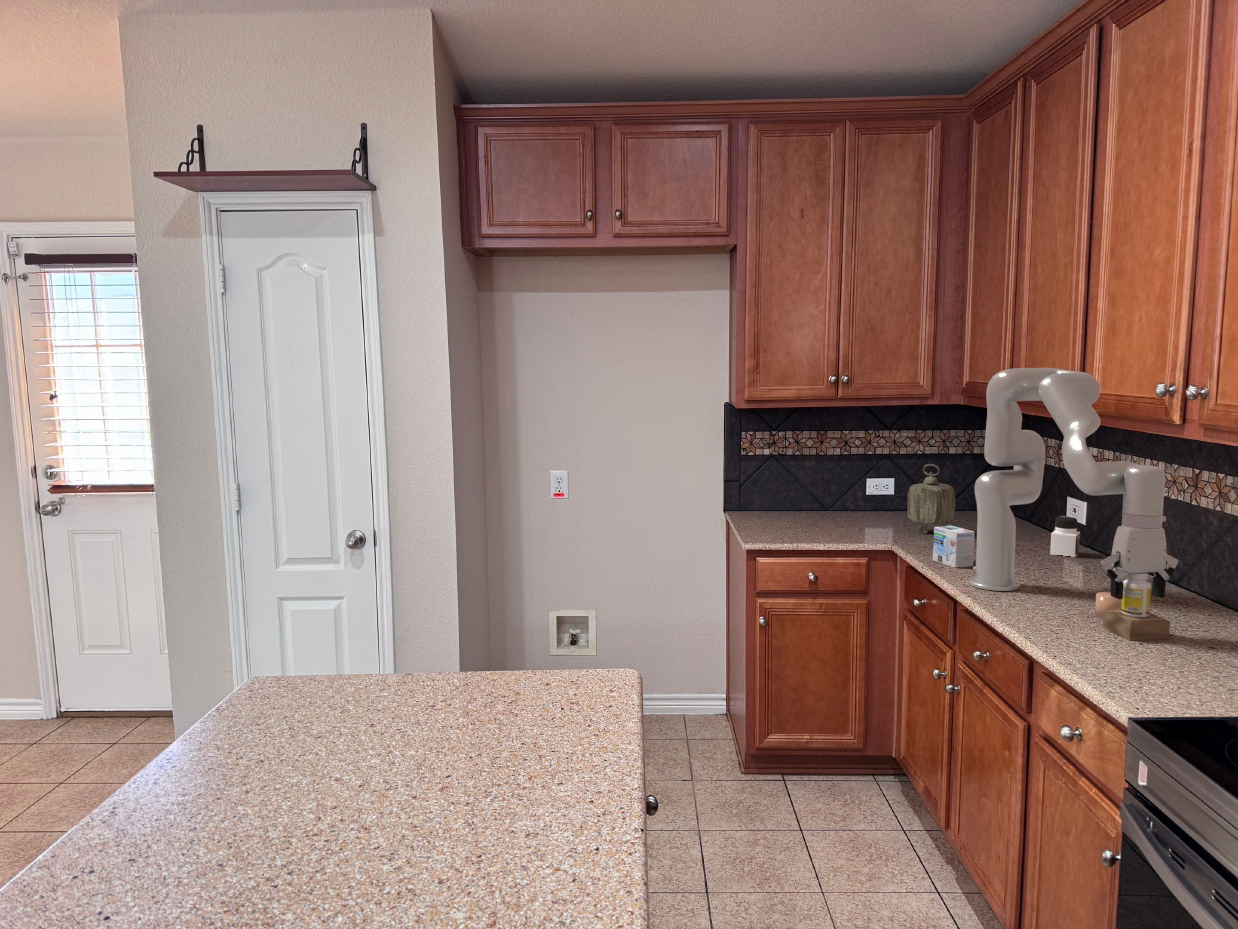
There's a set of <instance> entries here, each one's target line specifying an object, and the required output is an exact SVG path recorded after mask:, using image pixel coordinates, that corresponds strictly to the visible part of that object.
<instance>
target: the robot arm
mask: <svg viewBox="0 0 1238 929" xmlns="http://www.w3.org/2000/svg"><path fill="white" fill-rule="evenodd" d="M1100 395H1101V387H1100V383H1099V382H1098V380H1097V379H1096V378H1095V377H1094V375H1092V374H1091V373H1087V372H1083V371H1077V370H1070V369H1069V370H1068V369H1062V368H1056V367H1017V368H1015V367H1014V368H1007V369H1004V370H1001V371H999V372H996V373H995V374H994V375H992V377H991V379H990V380H989V381H988V384H987V387H986V392H985V396H986V399H985V400H986V408H987V409H986V411H987V414H986V422H985V423H986V425H985V426H986V427H985V434H984V436H985V437H984V449H983V450H984V451H983V452H984V453H983V454H984V455H983V456H984V459H985V461H986V462H987V463H988V464H990V465H991V466H995V467H1013V469H1005V470H990V471H987V472H984V473H983V474H981V475H980V476H978V478H977V479H976V480H975V483H974V496H975V502H976V510H977V511H976V512H977V514H976V515H977V521H976V524H977V526H976V552H975V553H976V554H975V555H976V556H975V566H974V565H973V566H972V570H974V571H975V575H974V576H972V577H970V578H969V579H968V580H969V581H968V584H969V585H970V586H972V587H974V588H978V589H981V590H985V591H986V590H987V591H995V592H996V591H997V592H1010V591H1017V590H1019V589H1020V587H1021V583H1020V582H1019V581H1018V580H1015V579H1014V576H1015V558H1016V557H1015V555H1016V535H1017V534H1016V533H1017V530H1016V529H1017V528H1016V527H1017V523H1016V518H1015V515H1014V514H1013V511H1012V509H1011V507H1010V506H1015V505H1017V506H1018V505H1027V504H1031V503H1034V502H1035V501H1037V499H1038V498H1039V497H1040V495H1041V492H1042V488H1043V481H1044V480H1043V479H1044V472H1045V462H1046V446H1045V441H1044V440H1043V438H1042V436H1041V435H1040V434H1039V433H1037V432H1036V431H1034V430H1031V429H1030V430H1029V429H1022V424H1023V423H1022V422H1023V415H1022V411H1021V408H1020V406H1019V405H1018V403H1017V402H1025V401H1026V402H1029V401H1030V402H1034V401H1039V402H1040V401H1042V402H1043V405H1044V406H1045V407H1046V409H1047V411H1048V413H1049V414H1050V416H1051V417H1052V419H1053V420H1054V422H1055V424H1056V425H1057V427H1058V429H1059V430H1060V432H1061V433H1062V435H1063V442H1062V444H1061V445H1062V446H1061V458H1062V463H1063V466H1064V468H1065V470H1066V471H1067V473H1068V475H1069V477H1070V478H1071V480H1072V481H1073V482H1074V485H1076V486H1077V488H1078V489H1079V490H1080V491H1082V492H1083V493H1084V494H1085V495H1086V494H1087V495H1088V496H1107V495H1122V496H1123V497H1122V512H1121V515H1122V516H1121V525H1118V526H1117V528H1116V531H1115V534H1114V539H1113V543H1112V550H1111V555H1109V556H1107V557H1106V558H1104V559H1102V560H1101V561H1099V562H1100V565H1101V568H1102V570H1103V573H1104V575H1106V576H1107V577H1108V579H1109V580H1110V585H1109V586H1110V589H1109V592H1110V593H1111V596H1112V597H1114V598H1117V599H1123V586H1124V583H1123V581H1122V580H1123V579H1124V578H1125V577H1126V574H1127V573H1148V574H1150V573H1151V574H1152V573H1153V575H1154V576H1152V581H1151V582H1152V583H1151V585H1152V586H1151V595H1153V596H1155V597H1158V598H1160V599H1164V598H1165V597H1166V596H1165V595H1166V585H1167V584H1166V583H1167V581H1169V579H1170V577H1171V575H1172V574H1173V573H1174V572H1175V569H1176V567H1177V566H1178V563H1179V559H1177V558H1175V556H1174V557H1173V556H1172V555H1171V554H1168V553H1167V537H1166V532H1165V529H1164V527H1163V523H1164V522H1166V521H1167V516H1165V515H1163V514H1164V499H1165V482H1166V472H1165V470H1164V469H1163V468H1162V467H1160V466H1156V465H1146V464H1143V465H1142V464H1139V463H1136V462H1132V461H1127V460H1117V461H1116V460H1114V461H1110V460H1109V461H1098V462H1097V461H1096V460H1095V458H1094V457H1093V455H1092V454H1091V452H1090V450H1089V448H1088V446H1087V443H1086V441H1087V440H1086V438H1088V437H1089V436H1090V435H1092V434H1094V433H1095V432H1096V431H1097V430H1098V429H1099V427H1100V426H1101V422H1102V421H1101V418H1100V416H1099V414H1098V413H1097V411H1096V410H1095V409H1094V407H1093V406H1092V405H1093V404H1095V403H1096V402H1097V401H1098V399H1099V398H1100ZM1112 568H1113V569H1112Z"/></svg>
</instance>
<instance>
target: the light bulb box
mask: <svg viewBox="0 0 1238 929" xmlns="http://www.w3.org/2000/svg"><path fill="white" fill-rule="evenodd" d="M975 533H976V532H975V531H974V530H969V529H966V528H963V527H959V526H954V525H944V526H940V525H939V526H934V527H933V547H932V548H933V549H932V550H933V551H932V561H934V562H937V563H940V564H943V565H946V566H949V567H952V568H954V567H960V568H969V566H970V567H974V555H975V554H974V552H975Z"/></svg>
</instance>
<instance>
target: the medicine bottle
mask: <svg viewBox="0 0 1238 929" xmlns="http://www.w3.org/2000/svg"><path fill="white" fill-rule="evenodd" d="M1054 525H1055V526H1054V530H1053V532H1051V534H1050V535H1051V536H1050V554H1049V555H1051V556H1056V555H1063V556H1062V557H1065V556H1071V557H1070V558H1074V557H1075V558H1076V557H1078V555H1079V554H1080V541H1081V532H1080V531H1077V530H1078V519H1077V518H1075V517H1073V516H1067V515H1066V516H1065V515H1060V516H1057V517H1055V524H1054ZM1078 553H1079V554H1078Z"/></svg>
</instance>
